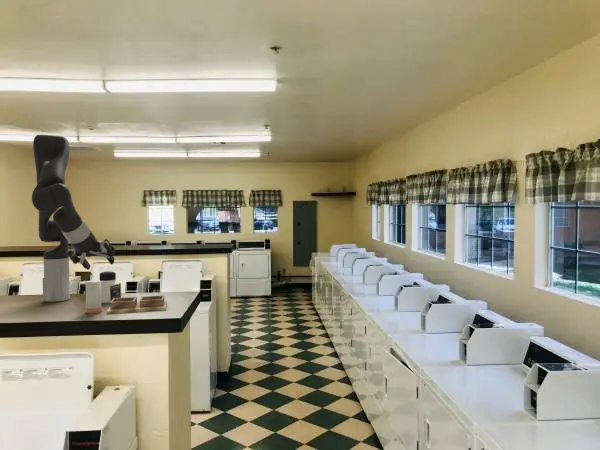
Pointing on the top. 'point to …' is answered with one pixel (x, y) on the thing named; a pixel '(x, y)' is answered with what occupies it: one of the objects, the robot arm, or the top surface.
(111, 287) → the medicine bottle
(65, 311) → the top surface
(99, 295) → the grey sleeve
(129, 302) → the socket board
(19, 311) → the top surface
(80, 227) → the robot arm
